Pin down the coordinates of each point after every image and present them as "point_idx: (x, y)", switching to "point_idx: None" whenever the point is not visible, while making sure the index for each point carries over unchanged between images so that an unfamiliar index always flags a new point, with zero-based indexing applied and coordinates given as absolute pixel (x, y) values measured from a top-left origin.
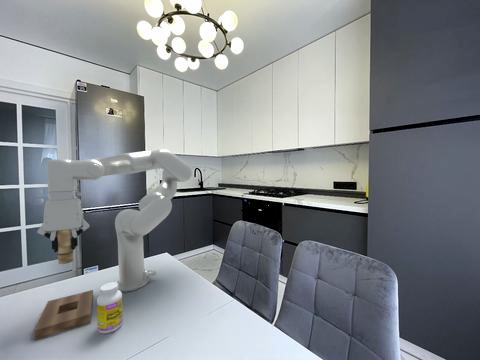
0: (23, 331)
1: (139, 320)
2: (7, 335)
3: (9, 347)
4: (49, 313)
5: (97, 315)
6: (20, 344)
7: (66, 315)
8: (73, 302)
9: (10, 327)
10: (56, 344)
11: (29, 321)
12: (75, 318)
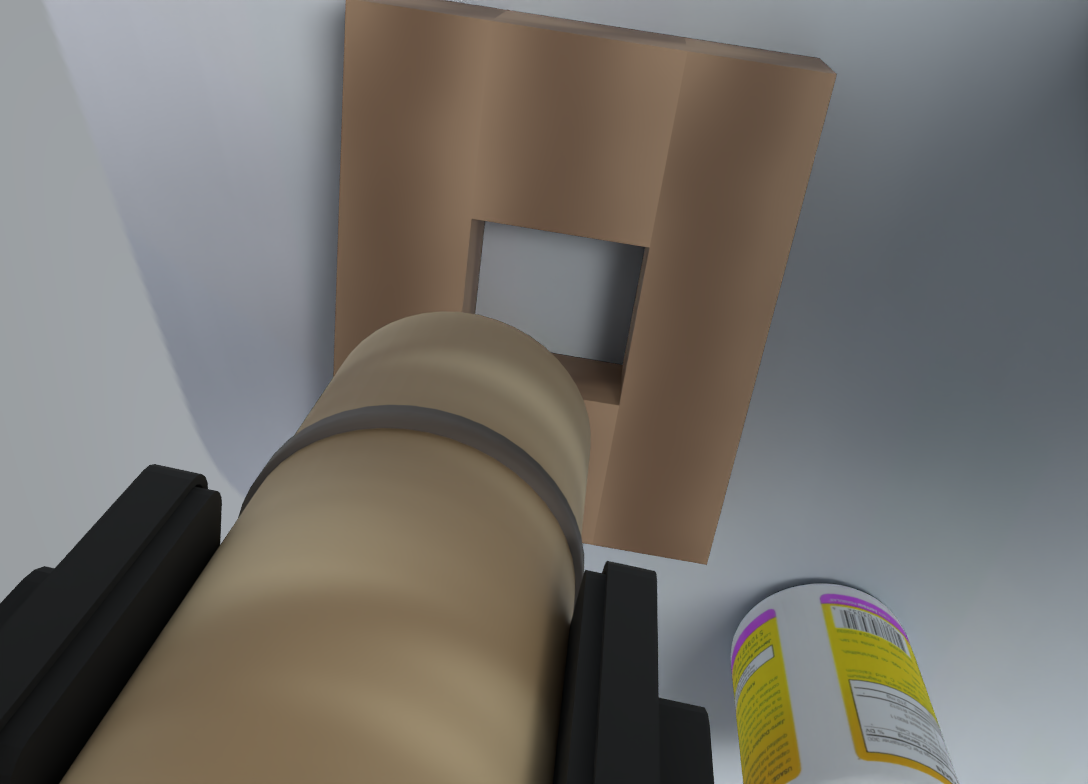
0: (246, 266)
1: (1003, 714)
2: (144, 239)
3: (213, 413)
4: (398, 313)
5: (739, 744)
6: (272, 428)
7: None
8: (600, 237)
9: (121, 115)
10: None
11: (250, 122)
12: (599, 545)
